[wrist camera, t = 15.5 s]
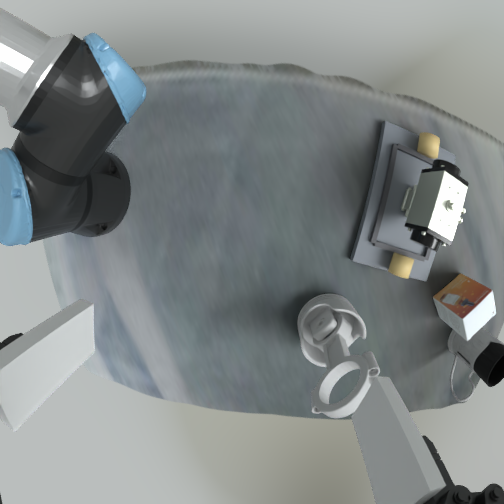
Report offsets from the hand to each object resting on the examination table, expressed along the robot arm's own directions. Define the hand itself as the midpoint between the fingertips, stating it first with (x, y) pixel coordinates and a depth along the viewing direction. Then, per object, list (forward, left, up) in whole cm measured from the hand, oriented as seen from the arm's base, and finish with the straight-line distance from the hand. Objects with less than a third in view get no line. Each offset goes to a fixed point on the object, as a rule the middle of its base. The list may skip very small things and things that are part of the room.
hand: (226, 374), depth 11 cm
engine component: (+14, -10, -32) cm, 36 cm away
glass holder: (+46, -10, -32) cm, 57 cm away
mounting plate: (+22, +13, -32) cm, 41 cm away
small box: (+38, 0, -32) cm, 50 cm away
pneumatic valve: (+22, +13, -30) cm, 40 cm away
